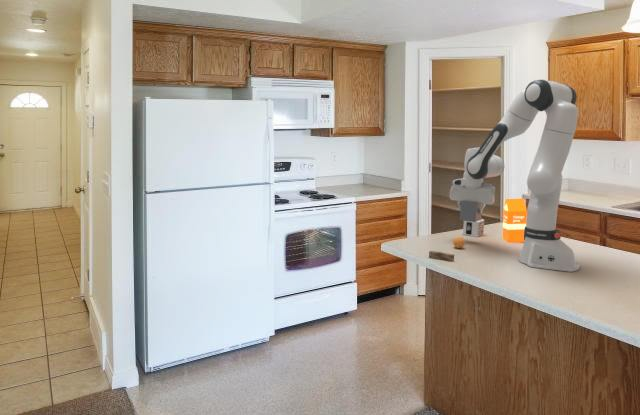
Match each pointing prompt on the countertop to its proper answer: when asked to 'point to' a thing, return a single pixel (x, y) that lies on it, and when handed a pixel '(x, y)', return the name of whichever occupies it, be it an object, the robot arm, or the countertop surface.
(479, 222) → the container
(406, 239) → the countertop surface
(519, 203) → the orange juice
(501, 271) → the countertop surface
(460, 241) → the ball
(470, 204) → the matte gray box
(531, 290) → the countertop surface
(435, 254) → the bar
